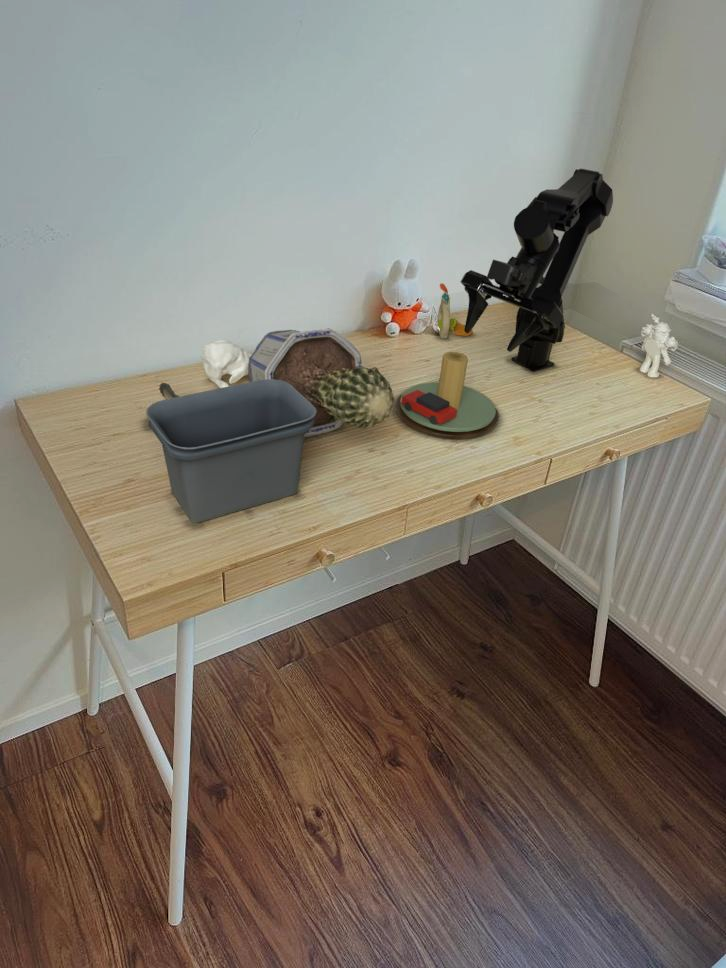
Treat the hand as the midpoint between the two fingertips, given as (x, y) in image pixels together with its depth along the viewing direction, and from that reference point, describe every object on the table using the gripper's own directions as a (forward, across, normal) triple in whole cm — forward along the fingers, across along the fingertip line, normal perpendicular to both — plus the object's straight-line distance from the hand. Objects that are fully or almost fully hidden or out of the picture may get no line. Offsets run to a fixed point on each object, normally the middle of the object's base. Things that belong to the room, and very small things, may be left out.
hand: (486, 341), depth 135 cm
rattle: (-2, -21, +24) cm, 32 cm away
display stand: (+14, -1, +1) cm, 14 cm away
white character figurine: (-15, +16, +38) cm, 44 cm away
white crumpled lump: (+28, -33, -15) cm, 46 cm away
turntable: (+13, -1, +1) cm, 13 cm away
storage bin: (+42, -6, -33) cm, 54 cm away
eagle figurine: (+39, -27, -29) cm, 55 cm away
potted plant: (+28, -10, -16) cm, 34 cm away
